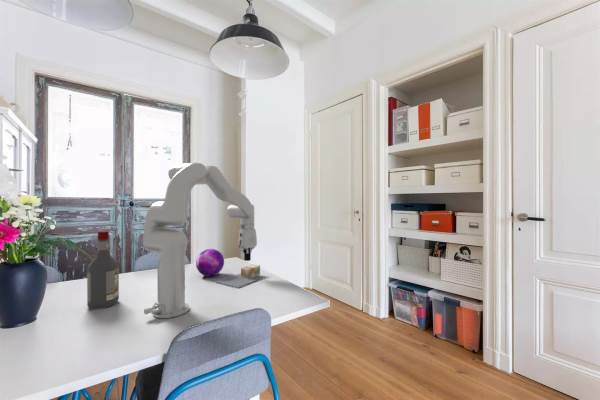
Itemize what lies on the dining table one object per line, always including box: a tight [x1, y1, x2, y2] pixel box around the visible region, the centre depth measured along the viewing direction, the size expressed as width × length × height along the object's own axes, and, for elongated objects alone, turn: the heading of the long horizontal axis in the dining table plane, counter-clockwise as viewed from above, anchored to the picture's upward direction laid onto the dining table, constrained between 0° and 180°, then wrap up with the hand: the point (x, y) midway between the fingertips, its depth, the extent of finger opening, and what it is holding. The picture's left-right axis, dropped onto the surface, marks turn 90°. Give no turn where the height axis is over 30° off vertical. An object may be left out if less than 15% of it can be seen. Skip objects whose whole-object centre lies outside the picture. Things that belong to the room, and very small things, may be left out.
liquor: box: [86, 230, 120, 310], centre depth 110 cm, size 9×9×30 cm
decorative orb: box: [195, 248, 225, 277], centre depth 152 cm, size 15×15×15 cm
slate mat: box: [215, 273, 266, 289], centre depth 143 cm, size 20×16×1 cm
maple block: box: [240, 264, 261, 279], centre depth 149 cm, size 5×5×10 cm
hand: (247, 260), depth 147 cm, fingers closed
